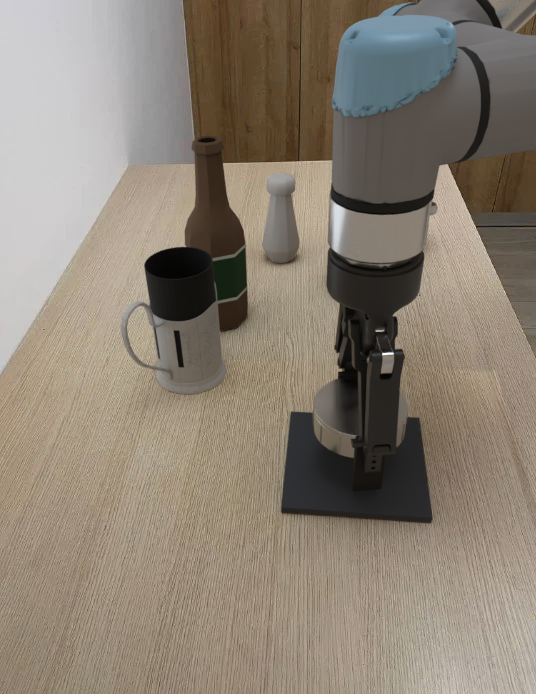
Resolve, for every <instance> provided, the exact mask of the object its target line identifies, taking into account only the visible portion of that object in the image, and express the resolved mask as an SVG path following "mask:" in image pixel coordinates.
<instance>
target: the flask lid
mask: <svg viewBox="0 0 536 694" xmlns="http://www.w3.org/2000/svg"><path fill="white" fill-rule="evenodd" d="M312 413H313V414H312V427H313V430H314V433H315V435H316V437H317V439H318V440H319V442H320V443H321V444H322V445H323V446H325V447H326V448H327V449H329V450H331V451H332V452H334V453H336V454H339V455H342V456H345V457H350V458H354V449H355V448H352V444H351V439H355V438H356V436H359V396H358V376H349V377H343V378H339V379H338V378H336V379H333V380H331V381H328V382H327V383H325V384H324V385H322V387H320V388H319V390H318V391H317V392H316V394H315V395H314V398H313V409H312ZM408 414H409V404H408V400H407V398H406V396H405V395H404V394H403V392H401V391H400V395H399V411H398V426H397V442H396V447H398V446H399V445H400V443H401V442H402V441H403V438H404V435H405V429H406V422H407V417H408Z"/></svg>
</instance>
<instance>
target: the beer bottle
mask: <svg viewBox="0 0 536 694" xmlns="http://www.w3.org/2000/svg"><path fill="white" fill-rule="evenodd" d="M224 149H225V146H224V143H223V141H222V139H221V138H220V137H219V136H216V135H215V136H214V135H204V136H199V137H197V138H196V139H194V140H192V143H191V150H192V152H193V153H194V179H195V180H194V182H195V183H194V185H195V200H194V207H193V209H192V210H191V212H190V214H189V216H188V218H187V220H186V224H185V228H184V247H193V248H198V249H201V250H204V251H206V252H208V253H209V254H210V255H211V257H212V259H213V271H214V281H215V284H216V290H217V301H218V314H219V326H220V332H224V331H228V330H232V329H237V328H239V327H240V325H242V323H243V322H244V321H245V320H246V319H247V317H248V316H249V297H248V296H249V295H248V273H247V251H246V247H247V245H246V239H245V230H244V228H243V225H242V223H241V221H240V218H239V217H238V216H237V214H236V213H235V212H234V210H233V209H232V207H231V205H230V202H229V198H228V197H229V196H228V192H227V184H226V176H225V175H226V174H225V169H224V159H223V150H224ZM245 245H246V246H245Z"/></svg>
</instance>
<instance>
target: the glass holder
mask: <svg viewBox="0 0 536 694" xmlns="http://www.w3.org/2000/svg"><path fill="white" fill-rule="evenodd" d="M143 267H144V275H145V280H146V281H145V282H146V286H147V287H146V288H147V294H148V299H149V302H148V304H147V303H146V302H144V301H139V300H138V301H134V302H132V303H131V304H130V305H129V306H128V307H127V308H126V309H125V311H124V312H123V315H122V316H121V322H120V333H121V338H122V342H123V347H124V348H125V349H126V352H127V354H128V355H129V356H130V358H131V359H132V360H133V361H134V362H135V363H136V364H137V365H138V366H140V367H143V368H146V369H150V370H153V371H156V374H155V377H156V380H157V383H158V384H159V385H160V387H162V388H163V389H165V390H166V391H169V392H171V393H174V394H179V395H196V394H201V393H204V392H207V391H210V390H213V389H214V388H216V387H217V386H218V385H220V384H222V382H223V381H224V379H225V378H226V376H227V371H228V370H227V369H228V368H227V365H226V362H225V361H224V359H223V354H222V342H221V331H220V326H219V314H218V301H217V290H216V284H215V281H214V271H213V259H212V257H211V255H210V254H209V253H208V252H206V251H204V250H201V249H198V248H193V247H185V246H176V247H170V248H169V247H168V248H164V249H162V250H159V251H157V252H154V253H152V254H151V255H150V256H149V257H148V258H146V260H145V261H144V264H143ZM138 307H143V308H144V310H145V313H146V317H147V321H148V324H149V325H150V326H151V329H152V335H153V341H154V347H155V353H156V360H157V365H150V364H149V363H148V364H147V363H145V362H143V361H142V360H141V359H140V358H139V357H138V356H137V355H136V353H135V352H134V350H133V347H132V346H131V342H130V338H129V334H128V323H129V319H130V317H131V316H132V314H133V313H134V311H135V310H136V309H137V308H138Z"/></svg>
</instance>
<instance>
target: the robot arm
mask: <svg viewBox="0 0 536 694" xmlns="http://www.w3.org/2000/svg"><path fill="white" fill-rule="evenodd" d="M535 15H536V0H420V1H419V2H417V1H414V2H411V1H409V2H404V3H399V4H395V5H393V6H391V7H389V8H387V9H385V10H383V11H382V12H381V13H380V14H379V15H378V16H374V17H369V18H366V19H362V20H359V21H357V22H355V23H353V24H352V25H351V26H349V27H348V28H347V29H346V30H345V32H344V33H343V34H342V36H341V39H340V40H339V45H338V50H337V52H338V54H337V60H336V64H335V75H334V87H333V93H332V97H331V104H332V105H331V106H332V107H331V108H332V109H333V111H332V112H333V118H332V154H331V155H332V160H331V183H330V190H329V194H328V219H327V220H328V222H327V243H328V246H329V248H328V250H327V259H326V282H325V284H326V285H325V286H326V290H327V293H328V294H329V295H330V297H331V298H332V299H333V301H335V302H337V304H339V308H338V317H337V326H336V333H335V341H334V346H333V349H334V351H335V353H336V354H338V356H337V360H336V365H337V366H338V369H339V370H341V371H337V379H339V378H343V377H349V376H358V396H359V436H356V438H355V439H351V444H352V448H355V449H354V460H353V471H352V482H351V487H352V491H363V490H378V489H381V486H382V478H383V471H384V464H385V456H386V455H393V454H395V453H396V450H397V447H396V442H397V426H398V411H399V395H400V392H401V391H400V390H401V377H402V373H403V368H404V362H405V359H406V355H405V352H404V350H403V348H396V339H397V337H398V335H399V320H398V317H397V316H396V315H395V314H396V312H398V311H399V310H401V309H402V308H404V307H406V306H408V305H410V304H411V303H412V302H414V301H415V299H416V298H417V297H418V295H419V293H420V289H421V285H422V277H423V271H424V263H425V252H424V249H425V247H426V245H427V240H428V239H427V238H428V232H429V226H430V225H429V223H430V222H429V221H430V217H431V216H434V215H436V214H437V212H438V207H439V206H438V205H437V203H436V202H435V201H433V200H434V196H435V190H436V184H437V180H438V176H439V175H438V174H439V169H440V167H441V166H446V165H451V164H452V165H453V164H459V163H463V162H468V161H473V160H479V159H486V158H491V157H492V158H493V157H498V156H503V155H504V156H505V155H512V154H517V153H523V152H529V151H531V152H536V35H535V34H533V35H532V34H521V33H517V32H518V31H519V30H521V28H523V27H524V26H525V25H526V24H527V23H528V22H529V21H530V20H531V19H532V18H533V17H534V16H535Z"/></svg>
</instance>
